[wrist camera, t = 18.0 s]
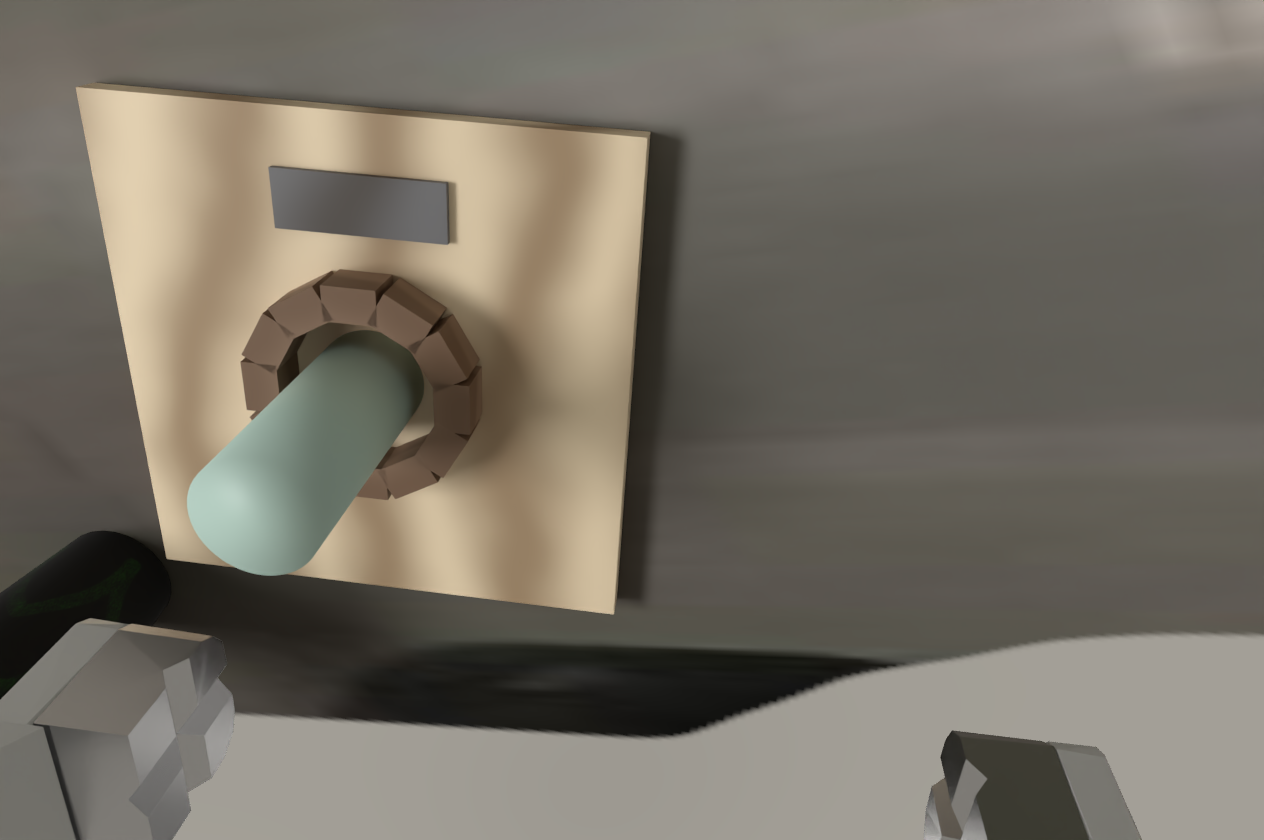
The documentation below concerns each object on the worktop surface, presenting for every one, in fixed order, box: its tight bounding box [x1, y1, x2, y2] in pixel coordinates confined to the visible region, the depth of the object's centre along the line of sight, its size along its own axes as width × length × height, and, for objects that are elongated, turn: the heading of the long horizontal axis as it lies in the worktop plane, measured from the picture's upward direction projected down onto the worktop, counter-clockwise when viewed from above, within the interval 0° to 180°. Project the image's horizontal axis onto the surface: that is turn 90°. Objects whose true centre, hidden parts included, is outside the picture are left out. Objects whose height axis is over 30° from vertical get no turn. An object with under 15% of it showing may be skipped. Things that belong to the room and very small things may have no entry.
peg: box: [187, 330, 424, 576], centre depth 36 cm, size 4×4×11 cm
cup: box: [0, 531, 171, 700], centre depth 44 cm, size 8×8×12 cm
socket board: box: [76, 83, 650, 614], centre depth 41 cm, size 22×22×3 cm
